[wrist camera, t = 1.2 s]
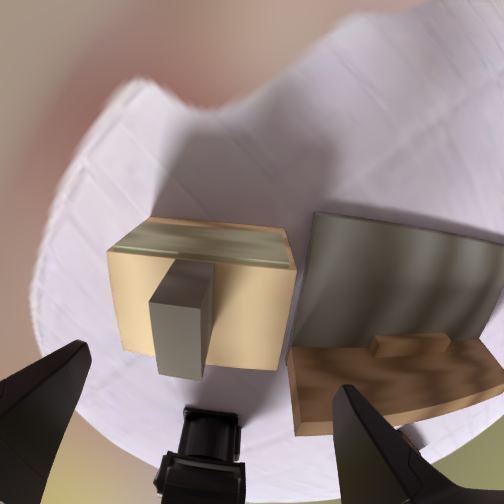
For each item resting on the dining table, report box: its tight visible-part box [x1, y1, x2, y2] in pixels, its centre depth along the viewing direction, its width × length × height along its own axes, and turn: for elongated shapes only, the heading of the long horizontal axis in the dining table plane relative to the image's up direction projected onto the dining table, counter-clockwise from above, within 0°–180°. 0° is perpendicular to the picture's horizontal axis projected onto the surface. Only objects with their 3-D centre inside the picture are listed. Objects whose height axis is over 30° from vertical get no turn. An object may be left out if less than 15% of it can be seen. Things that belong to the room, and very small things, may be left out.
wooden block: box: [106, 217, 297, 381], centre depth 16 cm, size 10×7×11 cm
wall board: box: [285, 212, 504, 436], centre depth 18 cm, size 24×14×9 cm, turn 85°
